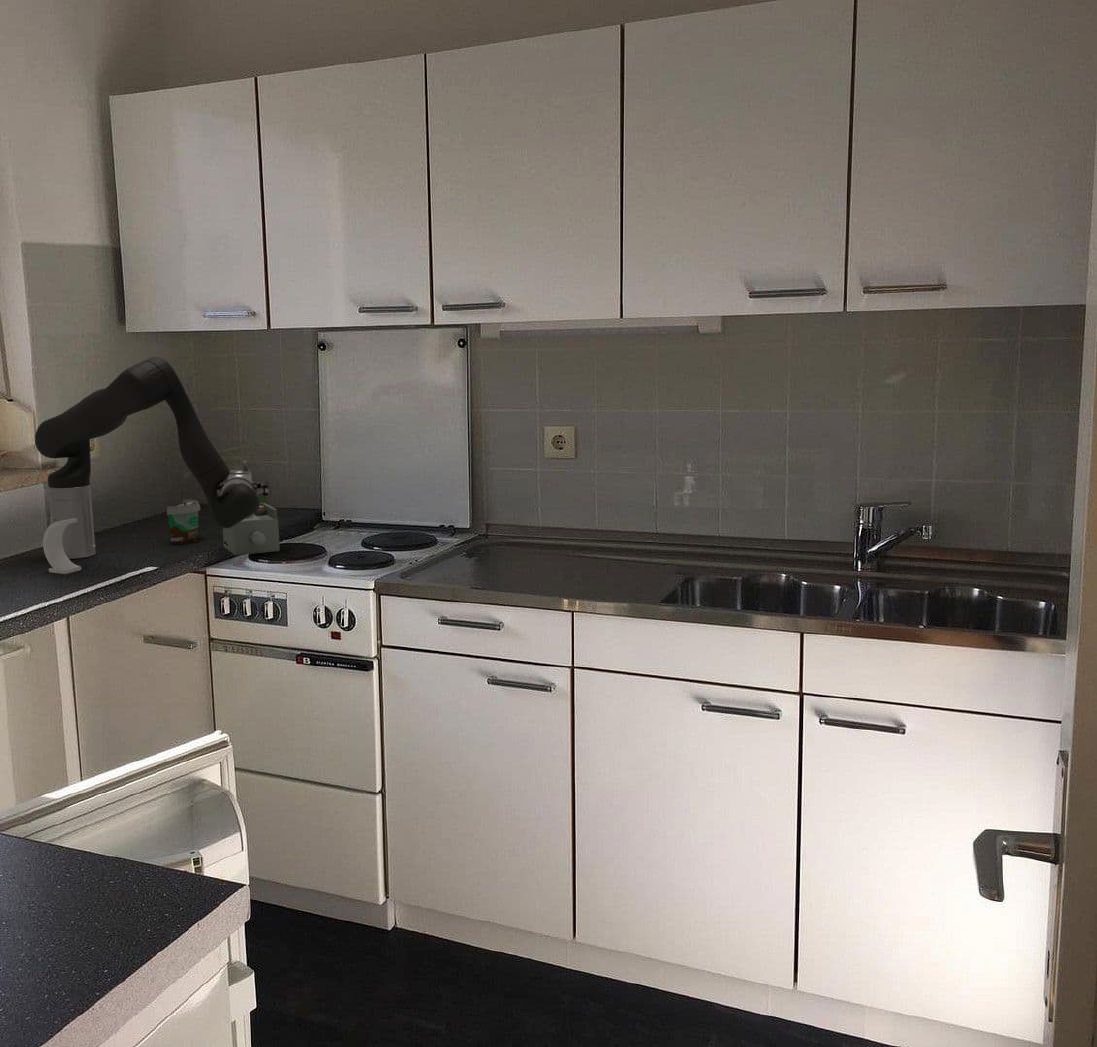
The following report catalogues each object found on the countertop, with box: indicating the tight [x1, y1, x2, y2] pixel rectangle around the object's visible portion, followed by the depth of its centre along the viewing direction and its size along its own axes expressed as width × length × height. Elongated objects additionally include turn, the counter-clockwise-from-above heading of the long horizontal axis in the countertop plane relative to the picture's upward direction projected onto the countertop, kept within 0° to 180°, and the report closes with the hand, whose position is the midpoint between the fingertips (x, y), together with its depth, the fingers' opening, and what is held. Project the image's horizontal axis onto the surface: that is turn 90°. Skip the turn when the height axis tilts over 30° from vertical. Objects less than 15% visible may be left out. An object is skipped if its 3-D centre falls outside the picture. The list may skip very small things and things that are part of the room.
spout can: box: [227, 460, 254, 519], centre depth 262 cm, size 6×6×14 cm
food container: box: [166, 499, 201, 545], centre depth 276 cm, size 12×6×10 cm, turn 179°
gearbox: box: [222, 503, 281, 556], centre depth 264 cm, size 11×15×10 cm
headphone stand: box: [42, 518, 82, 575], centre depth 241 cm, size 5×6×12 cm
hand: (240, 485), depth 263 cm, fingers open, 8 cm apart
